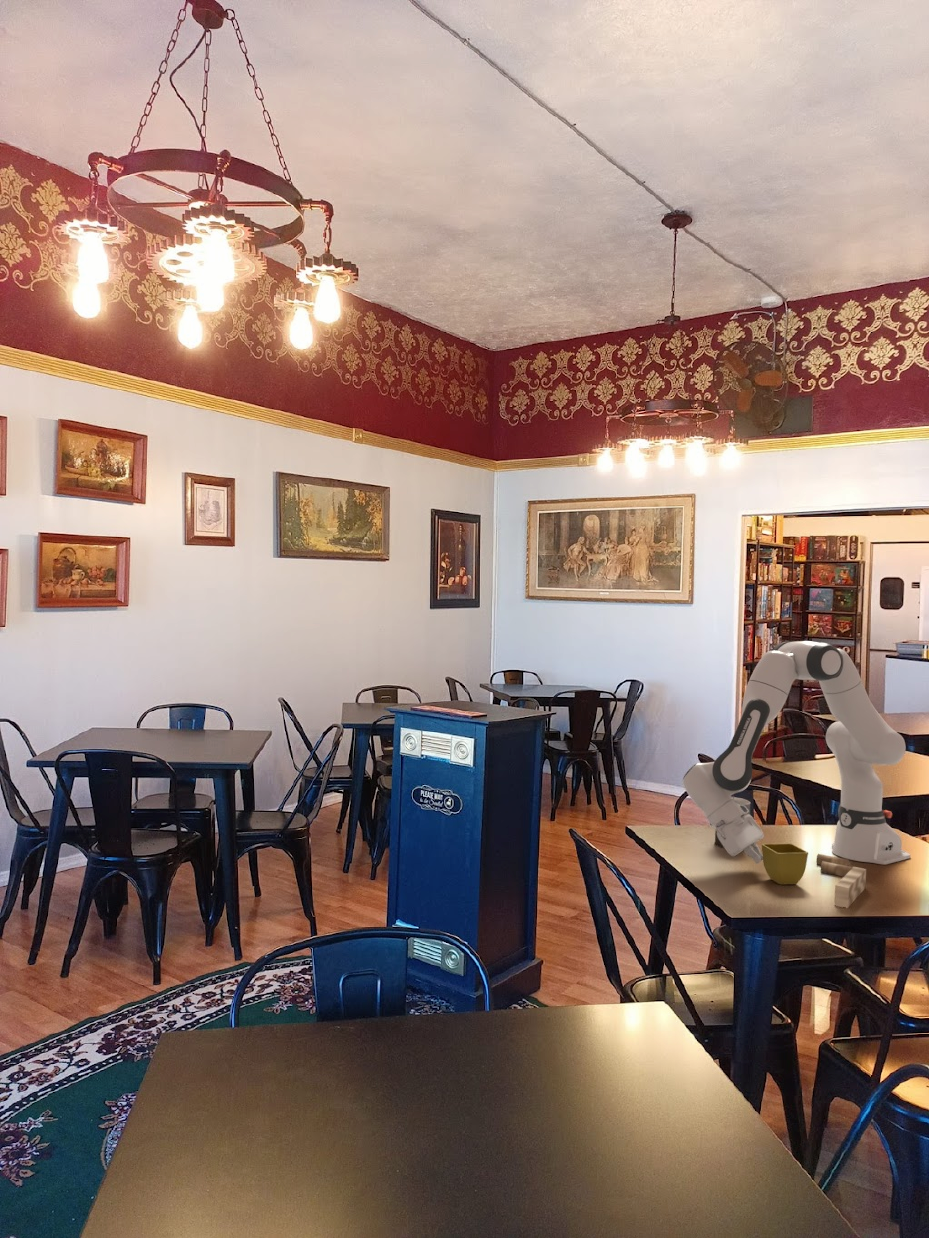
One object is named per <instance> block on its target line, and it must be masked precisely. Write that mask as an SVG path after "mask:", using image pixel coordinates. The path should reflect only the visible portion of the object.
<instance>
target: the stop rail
mask: <svg viewBox="0 0 929 1238" xmlns="http://www.w3.org/2000/svg"><path fill="white" fill-rule="evenodd" d="M852 867H853V868H852V869H851V870H850V871H849V872H848V873H847V874H846V875H845V876H844V877H843V876H842V878H841V879H840V880H839V881H838V882H837V883H836V884H835V885H834V905H836V906H835V907H839V908H843V907H846V908H845V909H848V908H849V907H850V906H851V905H852V904H853V903H854V902H855V901H856V899H857V898H859V896H860V895H861V894H862V893H863V892H864V890H866V881H867V880H866V879H867V868H862V867H858V866H857V867H856V866H852Z"/></svg>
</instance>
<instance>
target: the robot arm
mask: <svg viewBox="0 0 929 1238" xmlns="http://www.w3.org/2000/svg"><path fill="white" fill-rule="evenodd" d="M751 673H752V674H751V675H750V678H749V680H748V682H747V685H746V687H745V691H744V695H743V699H742V706H741V716H740V719H739V723H738V724H737V727H736V729H735V732H734V734H733V737H732V738H731V741H730V743H729V744H728V747H727V748H726V749H725V750H723V752H722V753H721V754H720V755H719V756H717V758H716V759H715V761H711V762H697V763H695V764H693V765H692V766H691V767H690V768H689V769H688V770H687V771H686V772H685V774H684V775H683V778H682V785H683V788H684V790H685V791H686V793H687V795H688V796H689V798H690V799H691V800H692V801H693V803H694V804H695V805H696V806H697V807H698V808H699V809H700V810H701V811H702V812H703V814H704V816H705V819H707V821H708V822H709V823H710V824H711V826H712V827H713V829H715V831H717V837H718V839H719V840H720V842H721V843H722V845H723V846H724V848H723V849H725V851H726V852H727V854H729V855H730V856H731V857H733V858H734V857H735V856H737V855H739V854H740V853H742V852H744V853H745V854H746V856H748V857H750V858H751V859H752V860H753V861H754V862H755V864H759V863H761V862H763V854H762V851H761V849H760V847H759V845H758V844H757V843H758V842H759V841H760V840H762V839H763V838H764V837H765V834H764V832H763V830H762V828H761V826H760V825H759V824H758V823H757V821H756V820H755V819H754V817H753V816H752V815H751V814H750V815H749V814H747V813H748V812H749V810H748V809H747V808H746V807H745V806H743V805H739V804H737V803H735V802H734V800H733V799H732V798H731V797H732V796H734V795H735V794H737V793H742V792H743V791H744V790H746V789H747V788H748V786H749V785H750V783H751V781H752V776H753V765H752V759H753V754H754V753H755V750H756V747H757V745H758V743H759V740H760V738H761V735H762V733H763V731H764V729H765V727H766V726H767V725H768V724H769V723H770V722H772V721H773V720H774V719H776V718H777V717H778V715H779V714H780V712H781V710H782V709H783V707H784V705H785V703H786V701H787V699H788V697H789V694H790V691H791V689H792V685H793V682H794V681H796V680H801V681H818V683H819V686H820V688H821V691H822V693H823V696H824V699H825V702H826V703H827V706H828V709H829V711H830V713H831V714H832V716H833V717H834V718H835V719H836V720H837V721H835V722H833V723H831V724H830V725H829V726H828V727H827V730H826V733H825V741H826V742H825V743H826V744H827V745H826V746H828V748H829V750H830V751H831V752H832V754H833V755H834V758H835V760H836V762H837V767H838V770H839V774H840V775H839V776H840V781H841V782H840V804H839V806H838V809H837V810H838V811H837V812H838V814H837V815H838V821H837V823H836V824H837V825H836V829H835V836H834V842H832V843H831V848H832V850H831V852H832V854H834V855H836V856H838V857H839V858H843V859H848V860H849V861H856V862H864V863H872V864H878V865H883V866H885V865H889V864H892V863H896V862H900V861H904V860H908V859H910V858H911V854H910V853H909V852H907V851H905V850H903V849H902V847H903V846H902V843H903V842H902V838H901V836H900V835H899V834H898V833H897V832H896V831H895V830H894V829H893V828H892V827H891V826H890V825H889V824H888V823H887V821H886V818H887V819H892V817H893V813H892V811H890V810H887V809H885V810H884V809H882V806H883V793H884V792H883V790H884V786H883V783H882V781H881V779H880V778H879V776H878V775H877V774H876V772H875V770H874V767H873V765H877V766H894V765H896V764H899V763H900V762H901V761H902V760H903V758H904V756H905V754H906V751H907V749H906V742H905V739H904V737H903V736H902V735H901V734H900V733H899V732H897V731H896V730H894V729H893V728H892V727H891V726H890V725H889V724H888V723H887V722H886V720H885V719H884V718H883V717H882V715H881V714H880V713H879V712H878V711H877V710H876V708H875V706H874V705H873V703H872V702H871V700H870V697H869V695H868V693H867V691H866V688H865V685H864V683H863V681H862V678H861V676H860V673H859V671H858V669H857V667H856V665H855V663H854V662H853V660H852V658H851V657H850V656H849V654H848V653H847V651H846V650H844V649H842V648H837V647H835V646H834V645H832V644H830V643H826V642H818V641H811V640H800V641H799V640H797V641H793V640H789V641H783V642H780V643H778V644H776V646H775V647H774V648H773V650H769V651H766V652H765V653H764V654H763V655H762V656H761V658H760V659H759V661H758V663H757V664H756V666H755V667H754V669H753V672H751ZM872 764H873V765H872Z"/></svg>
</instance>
